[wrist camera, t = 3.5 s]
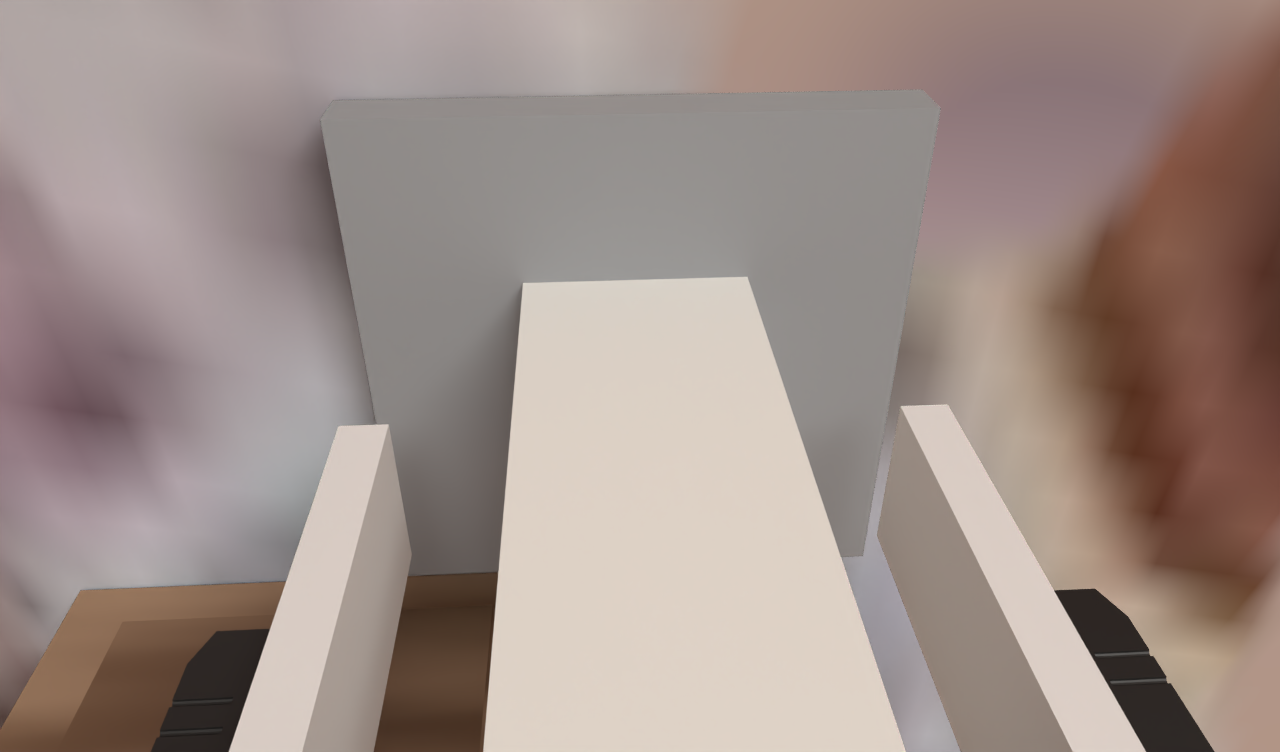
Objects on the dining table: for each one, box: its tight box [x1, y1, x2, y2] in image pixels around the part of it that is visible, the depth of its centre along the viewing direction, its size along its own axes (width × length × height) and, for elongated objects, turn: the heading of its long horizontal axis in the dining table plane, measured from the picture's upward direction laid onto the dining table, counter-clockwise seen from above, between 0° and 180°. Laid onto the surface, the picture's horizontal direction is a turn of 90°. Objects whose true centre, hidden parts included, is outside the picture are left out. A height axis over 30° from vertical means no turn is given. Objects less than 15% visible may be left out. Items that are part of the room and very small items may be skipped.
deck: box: [320, 90, 941, 576], centre depth 19 cm, size 10×10×1 cm
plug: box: [483, 277, 906, 752], centre depth 13 cm, size 4×4×12 cm
